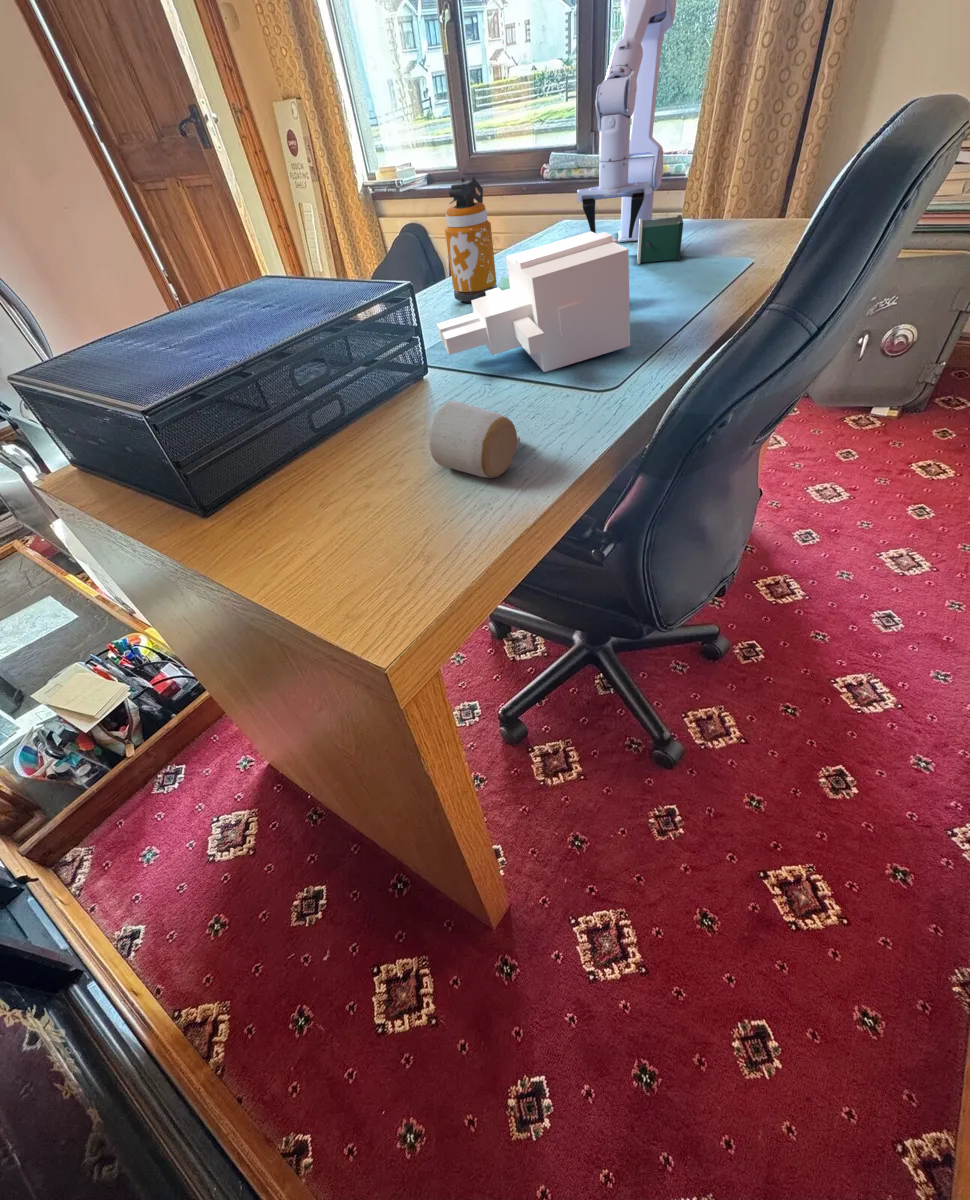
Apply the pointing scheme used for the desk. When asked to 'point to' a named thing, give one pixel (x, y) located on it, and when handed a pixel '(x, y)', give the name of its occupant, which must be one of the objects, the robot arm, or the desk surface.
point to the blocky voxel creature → (553, 304)
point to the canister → (469, 243)
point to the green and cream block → (659, 239)
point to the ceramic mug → (472, 439)
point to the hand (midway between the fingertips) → (611, 238)
